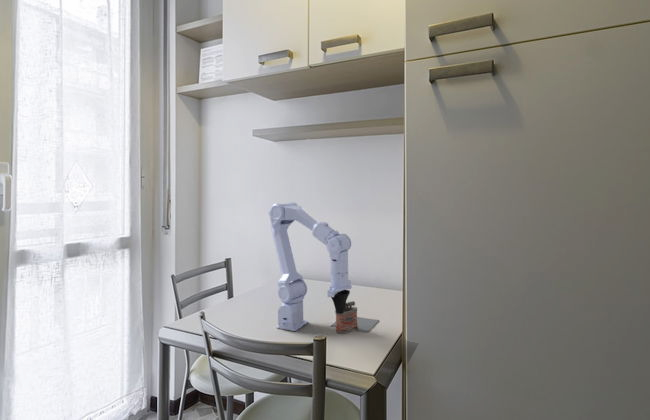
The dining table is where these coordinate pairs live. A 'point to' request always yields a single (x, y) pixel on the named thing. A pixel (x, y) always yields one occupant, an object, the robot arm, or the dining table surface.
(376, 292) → the dining table surface
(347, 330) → the lighter
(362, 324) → the mat
